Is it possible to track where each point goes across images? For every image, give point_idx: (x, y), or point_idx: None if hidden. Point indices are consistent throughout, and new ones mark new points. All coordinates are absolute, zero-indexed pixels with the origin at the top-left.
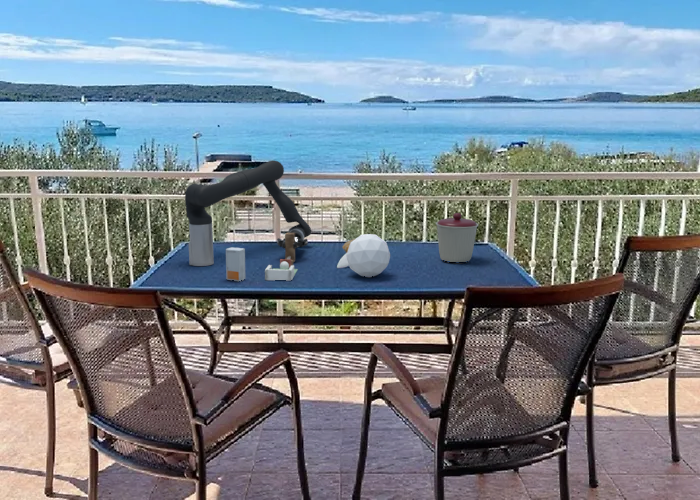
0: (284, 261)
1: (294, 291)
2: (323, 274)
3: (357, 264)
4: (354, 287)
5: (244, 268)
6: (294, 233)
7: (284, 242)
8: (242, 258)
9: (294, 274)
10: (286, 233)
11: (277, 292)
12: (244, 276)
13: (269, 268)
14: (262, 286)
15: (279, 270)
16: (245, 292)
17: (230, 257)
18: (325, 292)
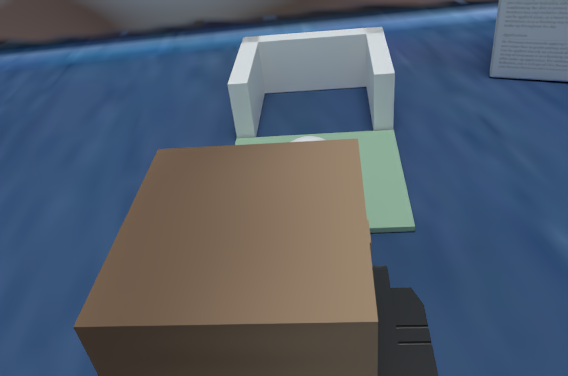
0: (305, 140)
1: (235, 28)
2: (59, 173)
3: None
4: (5, 71)
5: (497, 15)
6: (108, 259)
7: (386, 326)
8: None
9: (236, 140)
10: (344, 211)
11: (292, 18)
12: (491, 57)
13: (368, 47)
14: None
15: (304, 34)
16: (403, 6)
17: None
18: (130, 35)
